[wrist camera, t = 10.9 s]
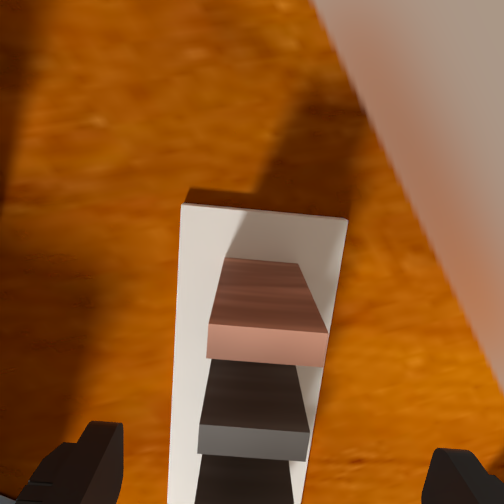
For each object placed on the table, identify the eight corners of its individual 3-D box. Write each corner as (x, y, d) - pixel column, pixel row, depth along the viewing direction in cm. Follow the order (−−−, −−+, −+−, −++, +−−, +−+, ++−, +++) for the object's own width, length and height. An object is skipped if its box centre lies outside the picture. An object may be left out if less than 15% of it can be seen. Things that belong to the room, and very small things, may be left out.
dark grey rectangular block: (218, 323, 26) (199, 424, 16) (287, 329, 26) (310, 432, 16) (216, 343, 26) (197, 453, 17) (285, 349, 26) (305, 461, 17)
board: (183, 202, 25) (181, 204, 24) (344, 218, 25) (348, 220, 24) (168, 521, 32) (165, 532, 31) (293, 530, 32) (294, 541, 31)
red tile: (224, 257, 25) (208, 323, 15) (298, 263, 25) (328, 333, 15) (223, 279, 25) (206, 358, 15) (295, 285, 25) (323, 367, 16)
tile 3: (213, 384, 27) (192, 511, 18) (279, 389, 27) (296, 518, 18) (211, 402, 28) (191, 536, 18) (277, 407, 28) (292, 543, 18)
